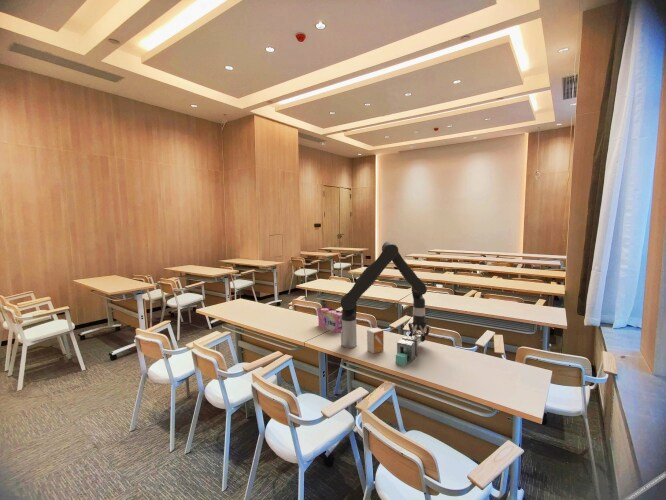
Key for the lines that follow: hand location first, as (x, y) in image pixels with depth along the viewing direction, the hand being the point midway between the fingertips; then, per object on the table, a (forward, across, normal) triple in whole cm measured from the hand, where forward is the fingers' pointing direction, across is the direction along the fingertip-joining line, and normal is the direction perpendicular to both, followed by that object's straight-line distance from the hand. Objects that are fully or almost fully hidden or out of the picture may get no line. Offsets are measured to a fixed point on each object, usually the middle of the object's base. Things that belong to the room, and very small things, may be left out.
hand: (419, 340), depth 195 cm
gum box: (+4, -67, -1) cm, 68 cm away
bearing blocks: (+3, 0, -21) cm, 21 cm away
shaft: (0, 0, -11) cm, 11 cm away
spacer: (+1, 0, -28) cm, 28 cm away
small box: (+4, -20, -22) cm, 30 cm away
